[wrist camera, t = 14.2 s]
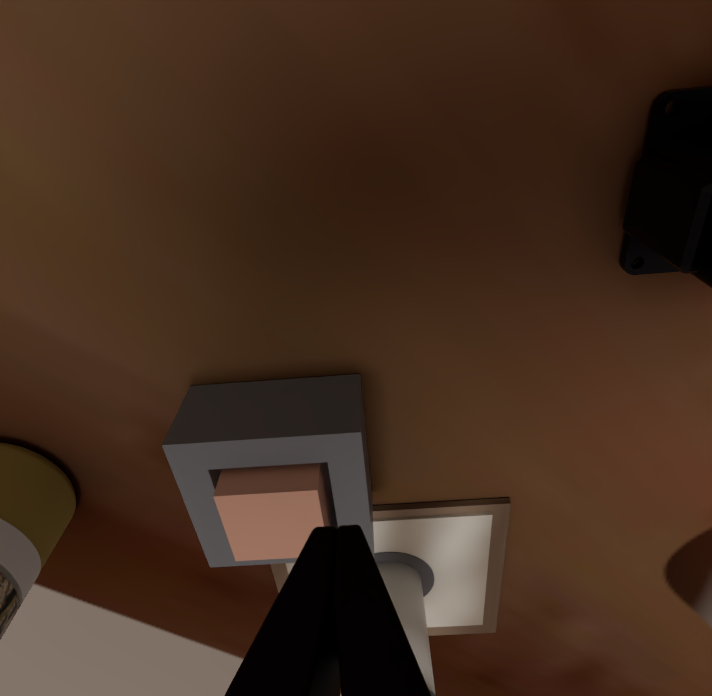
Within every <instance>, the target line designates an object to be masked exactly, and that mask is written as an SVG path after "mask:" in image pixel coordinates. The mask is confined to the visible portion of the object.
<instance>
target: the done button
mask: <svg viewBox="0 0 712 696" xmlns="http://www.w3.org/2000/svg"><path fill="white" fill-rule="evenodd" d="M332 496H333V493H332V487H331V480H330V474H329V468H328V462H323V463H307V464H291V465H275V466H259V467H244V468H228V469H222V470H221V473H220V476H219V480H218V483H217V486H216V489H215V492H214V496H213V497H214V500H215V503H216V506H217V509H218V512H219V515H220V517H221V520H222V523H223V526H224V529H225V532H226V535H227V538H228V541H229V543H230V546H231V549H232V552H233V555H234V558H235V561H249V560H267V559H285V558H298V556H299V554H300V552H301V550H302V549H303V547H304V545H305V543H306V541H307V539H308V537H309V535H310V533H311V532H312V530H313V529H314V528H315V527H322V526H331V515H332Z"/></svg>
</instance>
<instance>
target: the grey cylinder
mask: <svg viewBox="0 0 712 696" xmlns="http://www.w3.org/2000/svg"><path fill="white" fill-rule="evenodd" d="M376 564H377V566H378V569H379V571H380V573H381V576H382V578H383V581H384V583H385V585H386V588H387V590H388V593H389V595H390V597H391V600H392V602H393V605H394V607H395V609H396V612H397V614H398V617H399V619H400V621H401V624H402V626H403V629H404V631H405V633H406V636H407V638H408V641H409V643H410V645H411V648H412V650H413V653H414V655H415V657H416V660H417V662H418V665H419V667H420V669H421V672H422V674H423V677H424V679H425V681H426V684H427V686H428V689H429V691H430V693H431V696H436V695H435V688H434V680H433V672H432V663H431V655H430V647H429V639H428V631H427V623H426V615H425V606H424V598H423V590H422V582H421V577H420V574H419V573H418V572H417V571H416V570H415V569H414V568H412V567H411V566H409V565H406V564H403V563H398V562H381V563H376Z"/></svg>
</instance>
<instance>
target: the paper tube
mask: <svg viewBox="0 0 712 696" xmlns="http://www.w3.org/2000/svg"><path fill="white" fill-rule="evenodd" d="M75 508H76V497H75V491H74V488H73V486H72V483H71V482H70V480H69V479H68V477H67V476H66V475H65V473H64V472H63V471H62V470H61V469H60V468H59V467H58V466H56V465H55V464H54V463H53V462H51V461H50V460H48V459H47V458H45V457H43V456H42V455H40V454H38V453H36V452H33V451H31V450H29V449H26V448H23V447H20V446H16V445H12V444H8V443H1V442H0V639H1V637H2V636H3V634H4V632H5V631H6V629H7V627H8V626H9V624H10V622H11V620H12V619H13V617H14V615H15V614H16V612H17V610H18V609H19V607H20V606H21V604H22V602H23V600H24V598H25V597H26V595H27V594H28V592H29V590H30V589H31V587H32V585H33V584H34V582H35V580H36V579H37V577H38V575H39V573H40V571H41V569H42V567H43V566H44V564H45V562H46V561H47V559H48V557H49V556H50V554H51V552H52V551H53V549H54V547H55V545H56V544H57V542H58V540H59V539H60V537H61V535H62V534H63V532H64V530H65V529H66V527H67V525H68V524H69V522H70V520H71V519H72V517H73V514H74V512H75Z"/></svg>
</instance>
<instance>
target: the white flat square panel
mask: <svg viewBox="0 0 712 696" xmlns="http://www.w3.org/2000/svg"><path fill="white" fill-rule="evenodd" d="M510 507H511V502H510V499H509V498H495V499H478V500H461V501H444V502H427V503H410V504H393V505H376V506H373V533H374V559H375V561H376V563H381V562H398V563H403V564H406V565H409V566H411V567H412V568H414V569H415V570H416V571H417V572H418V573H419V574H420V577H421V582H422V590H423V598H424V606H425V615H426V623H427V631H428V636H431V635H453V634H474V633H495V632H496V625H497V616H498V608H499V599H500V591H501V583H502V574H503V566H504V557H505V549H506V540H507V532H508V523H509V515H510ZM294 564H295V563H280V564H270V565H271V568H272V572H273V575H274V579H275V582H276V586H277V589H278V592H280V590H281V588H282V586H283V584H284V582H285V581H286V579H287V577H288V575H289V573H290V571H291V569H292V567H293V565H294Z"/></svg>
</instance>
